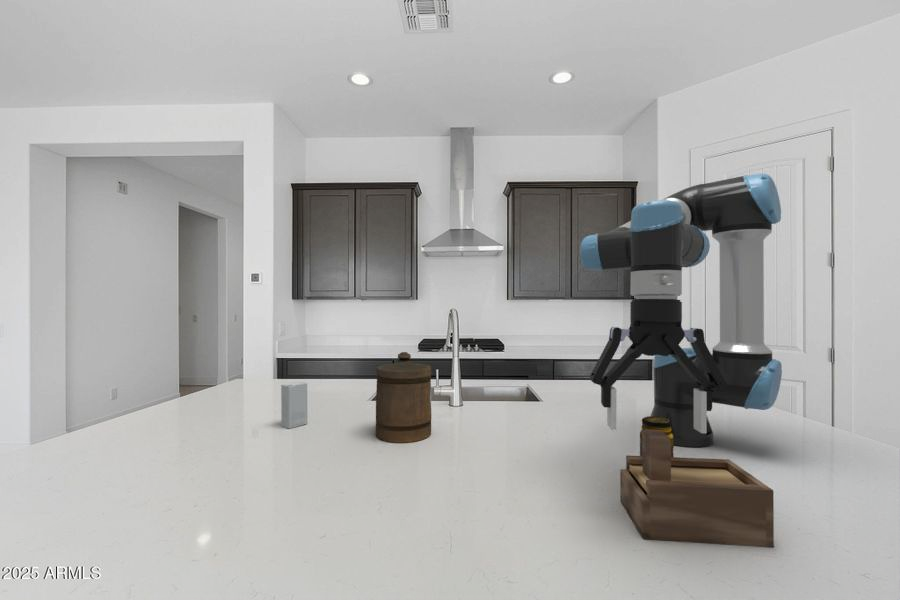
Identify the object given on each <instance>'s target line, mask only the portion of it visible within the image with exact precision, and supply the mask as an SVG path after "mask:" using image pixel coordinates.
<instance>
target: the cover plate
mask: <svg viewBox="0 0 900 600" xmlns="http://www.w3.org/2000/svg"><path fill="white" fill-rule="evenodd" d="M641 430H642V429H641ZM642 463H643V465H639V464H629V470H630V471H631V472H632V474H633V475H634V476H635V478H636V479H637V480H638V482H639V483H640V484H641V486H642V487H643V488H644V489H645V491H646V492H647V493H648V495H649V488H648V487H647V486H646V480H663V481H685V482H707V483H728V484H744V483H743V482H741V481H740V480H739V479H737V478H736V477H735V476H733V475H732V474H731V473H729V472H728V471H727V470H725V469H724V468H710V467H687V466H671V438H670V437H669V436H668V435H666V434H665V433H664V432H663V431H661V430H642Z"/></svg>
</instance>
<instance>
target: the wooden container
mask: <svg viewBox="0 0 900 600" xmlns="http://www.w3.org/2000/svg"><path fill="white" fill-rule="evenodd" d="M411 358H412V356H411V354H410V353H408V352H407V351H404V352H403V351H402V352H400V353H398V354H397V359H398V361H397V362H394V363H387V364H386V363H385V364H380V365H379V366H377V367H376V395H375V396H376V397H375V436H376V438H377V439H378V440H381V441H385V442H387V443H388V442H389V443H395V444H396V443H397V444H398V443H399V444H404V443H405V444H407V443H414V442H419V441H422V440H425V439H427V438H429V437H430V436H431V434H432V381H431V380H432V366H431V365H428V364H426V363H419V362H417V363H416V362H412V361H411V360H410V359H411Z"/></svg>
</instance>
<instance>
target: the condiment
mask: <svg viewBox="0 0 900 600" xmlns="http://www.w3.org/2000/svg"><path fill="white" fill-rule="evenodd" d="M641 424H642V425H641V429H640V432H639V456H642V430H661V431H663V432H664V433H665V434H666V435H668V436H669V437H670V438H671V457H674V445H673V435H672V434H671V422H670V421H669V420H668V419H666V418H662V417H655V416H651V415H650V416H644V417H642V419H641Z"/></svg>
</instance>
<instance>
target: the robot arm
mask: <svg viewBox="0 0 900 600" xmlns="http://www.w3.org/2000/svg"><path fill="white" fill-rule="evenodd" d="M630 215H631V217H630V220H629V221H628V222H626V223H624V224H622V225H620V226H618V227H616V228H614V229H612V230H610V231H608V232H603V233H598V232H597V233H595V234H591V235H587V236H585V237H584V238H583V240H581V243H580V245H579V246H580V247H579V257H580V261H581V264H582V265H583V267H584V268H585V269H586V270H588V271H594V272H595V271H600V272H606V271H618V270H630V289H629V290H630V292H629V293H630V296H631V297H634V299H631V301H630V303H629V304H630V306H629V307H630V318H629V320H630V326H629V328H628V329H627V328H620V327H618V326H617V327H616V326H611V328H610V329H609V334H608V335H609V337H608V341H607V343H606V344H605V347H603V350H602V352H601V354H600V356H599V357H598V360H597V362H596V364H595V366H594V367H593V369H592V371H591V373H590V375H589V380H590V381H591V382H592V383H593V384H596V385H598V386H600V396H601V397H600V403H601V405H602V407H603V408H607V410H606V414H607V415H606V421H607V423H606V425H607V426H608V428H609V429H610V430H613V431H615V430H616V431H617V388H616V387H614V384H616V382H617V381H618V380H619V379H620V377H621V376H623V374H624V373H625V372H626V371H627V370H628V369H629V368H630V367H631V365H632V364H633V363H634V362H635V361H636V360H637V359H639V358H640V357H641V356H642V355H643V356H649V357H653V356H654V361H653V362H654V363H653V387H654V388H653V389H654V390H653V391H654V393H653V397H654V400H653V409H652V411H651V414H650V416H655V417H662V418H666V419H668V420H669V421H670V422H671V434H672V435H673V446H680V447H688V448H690V447H691V448H701V447H702V448H703V447H708V446H712V445H713V444H714V431H713V430H712V429H713V428H712V426H711V424H710V421H709V418H708V415H707V412H711V411H712V409H713V404H721V405H726V406H732V407H738V408H744V409H745V410H749V409H751V410H762V411H765V410H766V411H767V410H769V409H771V408H772V407H773V406H774V405H775V402H776V400H777V399H778V398H777V397H778V395H779V391H780V387H781V381H782V376H783V375H782V374H783V369H782V363H781V361H780V360H777V359H776V358H774V359H773V350H772V349H770V348H769V347H768V346H767V345H766V344H765V342H764V341H765V325H764V324H765V323H764V322H765V321H764V320H765V317H764V315H765V314H764V313H765V305H764V304H765V303H764V302H765V301H764V300H765V299H764V298H765V296H764V295H765V293H764V292H765V291H764V290H765V289H764V288H765V287H764V280H765V278H764V275H765V274H764V269H765V268H764V266H765V265H764V263H765V261H764V256H765V255H764V254H765V253H764V240H765V239H766V238H767V237H768V236H769V235H770V234H772V231H773V230H772V229H773V226H772V225H776V224H778V223H779V222H781V219H782V208H781V200H780V196H779V192H778V189H777V186H776V184H775V181H774V179H773V178H772V176H770V175H769V174H768V173H758V174H756V173H755V174H744V175H742V176H737V177H731V178H726V179H722V180H717V181H712V182H706V183H700V184H697V185H696V184H695V185H692V186H689V187H686V188H684V189H682V190H679V191H677V192H675V193H673V194H671V195H669V196H667V197H665V198H663V199H661V200H651V201H646V202H641V203H639V204H637V205H635V206H634V207H633V208H632V210H631V214H630ZM708 231H711V236H712V238H713V239H714V240H715V241H717V242H718V244H719V342H718V343H716V345H715V346H713V347H712V353H711V352H710V350H709V347H708V346H707V344H706V340H705V332H704V330H703V329H701V328H698V327H697V328H696V327H691V328H689V329H683V327H682V322H683V301H681V299H678V296H679V297H680V296H681V295H683V293H682V292H683V291H682V290H683V289H682V287H683V282H682V281H683V280H682V279H683V277H682V276H683V268H691V267H695V266H697V265H699V264H700V263H702V262H704V260H706V258H707V256H708V254H709V252H710V247H711V245H710V239H709V237H708V235H707V234H706V233H705V232H708ZM626 337H628V339H629V340H630V342H632V344H630V346H629V347H628V348H627V350H626V351H625V352H624V354H623V355H622V356H621V357H620V358H619V359H618V360H617V362H616V363H615V364H614V365H613V366H612V367H611V368H610V370H608V371H607V369H608V367H609V365H610V363H611V361H612V360H613V357H614V356H615V354H616V352H617V350H618V348H619V346H620V343H621V342H624V341H625V339H626ZM684 339H685V340H686V342H688V343H689V344H690V345H691V347H685V348H682V347H681V346H680V344H681V343H682V341H683V340H684ZM606 371H607V372H606Z"/></svg>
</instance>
